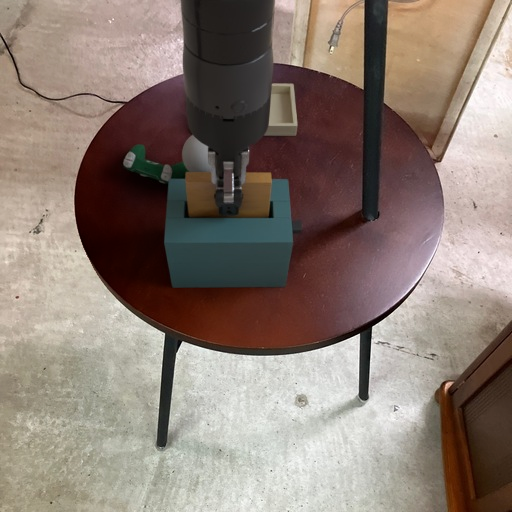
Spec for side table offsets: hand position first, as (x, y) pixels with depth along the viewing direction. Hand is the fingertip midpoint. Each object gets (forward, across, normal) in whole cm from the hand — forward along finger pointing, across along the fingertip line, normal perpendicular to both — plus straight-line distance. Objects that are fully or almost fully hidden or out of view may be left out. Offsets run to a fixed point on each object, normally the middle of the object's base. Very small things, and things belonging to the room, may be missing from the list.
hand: (228, 206), depth 62 cm
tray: (+11, -26, +3) cm, 28 cm away
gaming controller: (+11, -14, -10) cm, 20 cm away
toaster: (+11, 0, 0) cm, 11 cm away
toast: (+5, 0, 0) cm, 5 cm away
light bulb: (+11, -11, -3) cm, 16 cm away
